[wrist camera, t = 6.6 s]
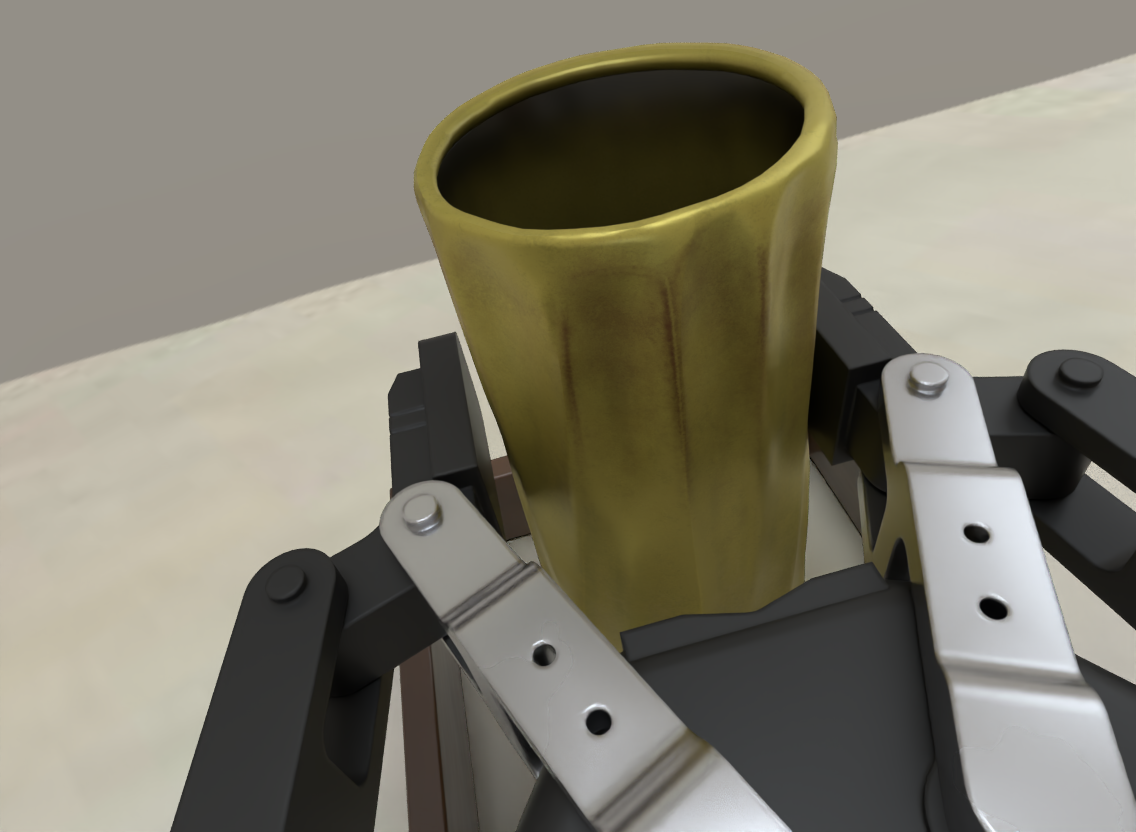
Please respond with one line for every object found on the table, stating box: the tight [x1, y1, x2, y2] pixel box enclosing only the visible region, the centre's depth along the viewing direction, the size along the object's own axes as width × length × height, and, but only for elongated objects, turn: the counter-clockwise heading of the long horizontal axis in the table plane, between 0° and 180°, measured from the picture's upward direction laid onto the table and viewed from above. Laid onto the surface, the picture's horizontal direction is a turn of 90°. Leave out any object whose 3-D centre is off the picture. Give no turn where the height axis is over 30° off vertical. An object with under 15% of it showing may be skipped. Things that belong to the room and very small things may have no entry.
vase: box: [414, 43, 838, 653], centre depth 14 cm, size 6×6×14 cm
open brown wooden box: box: [390, 432, 862, 832], centre depth 18 cm, size 14×12×3 cm
